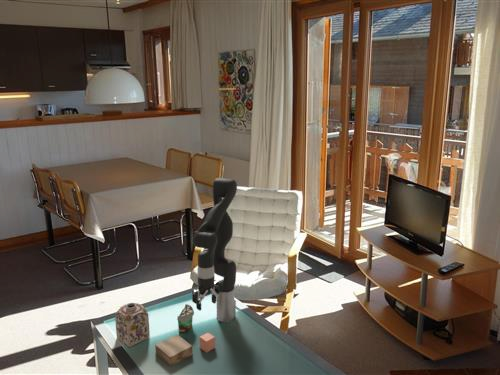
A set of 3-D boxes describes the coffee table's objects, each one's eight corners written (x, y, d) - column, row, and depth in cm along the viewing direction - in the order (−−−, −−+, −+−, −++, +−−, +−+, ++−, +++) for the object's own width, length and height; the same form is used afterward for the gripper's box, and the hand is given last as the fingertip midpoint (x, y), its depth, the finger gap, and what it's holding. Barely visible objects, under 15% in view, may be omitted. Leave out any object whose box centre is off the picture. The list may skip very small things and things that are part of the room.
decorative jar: (150, 337, 217) (148, 304, 212) (129, 348, 209) (127, 314, 204) (136, 327, 225) (134, 295, 220) (116, 337, 217) (113, 305, 212)
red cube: (208, 343, 213) (207, 332, 212) (214, 347, 210) (214, 336, 208) (199, 347, 210) (199, 336, 208) (206, 352, 207) (206, 341, 205)
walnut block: (177, 343, 213) (177, 334, 212) (192, 355, 205) (192, 345, 204) (155, 354, 206) (155, 344, 204) (170, 366, 197) (169, 357, 196)
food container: (189, 336, 219) (189, 318, 216) (177, 334, 220) (177, 316, 217) (197, 322, 230) (197, 304, 227) (186, 320, 231) (185, 303, 228)
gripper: (212, 266, 207) (213, 297, 211) (188, 276, 197) (189, 308, 201) (223, 271, 201) (223, 303, 206) (198, 282, 192) (199, 315, 196)
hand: (206, 306), depth 204 cm, fingers open, 8 cm apart
